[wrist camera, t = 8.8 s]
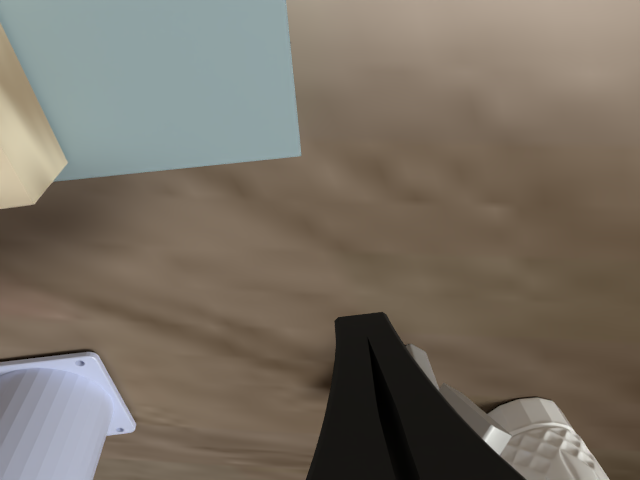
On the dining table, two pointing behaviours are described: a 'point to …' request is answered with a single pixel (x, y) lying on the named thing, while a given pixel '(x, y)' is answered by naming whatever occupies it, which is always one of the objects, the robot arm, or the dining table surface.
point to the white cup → (544, 442)
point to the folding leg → (23, 136)
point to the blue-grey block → (158, 81)
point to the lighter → (465, 407)
